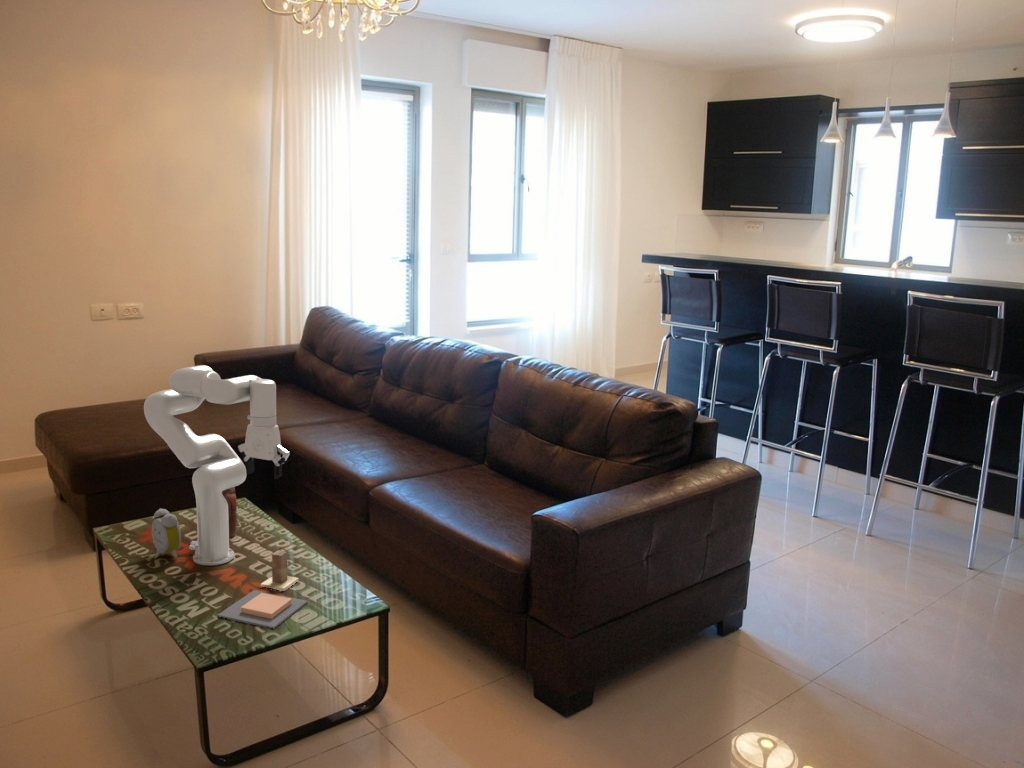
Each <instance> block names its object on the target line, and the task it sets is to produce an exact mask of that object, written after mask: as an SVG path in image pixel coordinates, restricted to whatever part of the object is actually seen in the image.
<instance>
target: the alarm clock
mask: <svg viewBox="0 0 1024 768" xmlns="http://www.w3.org/2000/svg"><path fill="white" fill-rule="evenodd" d="M151 537H152V541H153V544H154V547H155V549H156V553H155V555H154V558H153V559H155V560H156V559H157V558H158V557H159V556H160V555H161V554H169V553H171V554H172V556H173V558H174V559H175V560H178V559H179V558H178V553H177V551H179V549H180V548H181V545H182V532H181V528H180V525H179V522H178V518H177V516H176V515H175V514H173V513H170V511H168V510H167V509H166V508H161V507H160V508H159V509H158V510H156V511H155V512H154V514H153V521H152V522H151Z"/></svg>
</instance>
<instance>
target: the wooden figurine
mask: <svg viewBox="0 0 1024 768" xmlns="http://www.w3.org/2000/svg"><path fill="white" fill-rule="evenodd" d="M235 487H236V486H235ZM235 487H232V488H229V489H226V490H224V491H222V495H223V496H224V498H225V499H226V501H227V503H228V516H229V538H232V537H234V536H236V533H237V523H238V522H237V521H238V518H237V517H238V515H237V512H238V510H237V503H238V501H237V495H236V489H235Z"/></svg>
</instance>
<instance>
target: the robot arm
mask: <svg viewBox="0 0 1024 768" xmlns="http://www.w3.org/2000/svg"><path fill="white" fill-rule="evenodd" d="M168 384H169V387H170V389H164V390H160V391H157V392H153V393H152V394H150V395H149V396H147V398H146V399H145V401H144V404H143V413H144V417H145V419H146V422H147V423H148V425H149V426H150V428H151V429H152V430H153V431H154V432H155V433H156V434H158V436H160V438H161V439H163V441H164V442H165V443H166V444H167V446H168V447H169V449H170V450H171V451H172V453H173V454H174V455H175V456H176V457H177V459H178V460H179V462H181V464H182V465H183V466H184V467H185V468H188V469H196V470H195V471H194V472H193V474H192V478H191V479H192V481H191V483H192V487H193V491H194V495H195V503H196V530H197V531H196V532H197V535H196V536H197V541H195V540H191V542H190V543H189V544H190V545H189V546H188V549H189V550H192V551H195V552H194V554H193V556H192V560H193V562H194V563H195V564H198V565H200V566H219V565H223V564H225V563H229V562H231V561H232V560H233V559H234V558H235V551H234V550H232V549H231V548H230V537H229V516H228V503H227V501H226V499H225V498H224V496H223V495H222V491H224V490H226V489H229V488H232V487H237V486H240V485H241V484H243V483H244V482H245V481H246V478H247V475H250V474H253V473H254V472H255V459H259V460H265V461H272V462H273V463H274V466H273V479H274V480H277V479H279V478H281V477H282V476H283V464H285V462H287V461H288V458H289V456H290V454H291V453H290V451H288V450H287V449H286V448H284V447H283V446H282V443H281V442H282V441H281V433H280V428H279V425H278V424H277V384H276V382H275V380H272V379H268V378H261V377H259V376H257V375H254V374H248V375H242V376H237V377H231V378H225V379H222V378H221V376H220V374H219V373H218V372H216V371H214V370H213V369H212V368H211V367H210V366H208V365H205V364H200V365H194V366H193V365H192V366H188V367H182V368H178V369H177V370H175V371H173V372H172V373H171V375H170V377H169V381H168ZM204 401H207V402H208V403H212V404H216V405H217V404H218V405H234V404H237V403H242V402H248V401H249V414H248V415H247V420H249V424H248V425H247V427H246V433H245V439H244V440H245V442H244V443H241V444H239V445H238V446H237V448H238V451H239V452H240V455H241V456H242V458H243V460H242V459H241V457H239V456H238V454H237V453H236V452H235V450H234V449H233V448H232V447H231V445H230V444H229V443H228V442H227V440H226V439H225V438H224V437H222V436H221V435H220V434H217V433H208V434H205V435H197V434H196V433H195V432H194V431H193V430H192V429H191V427H190V426H189V425H188V424H187V423H186V422H184V421H183V420H180V419H178V418H177V417H175V416H177V415H181V414H185V413H191V412H193V411H194V410H196V409H198V407H200V406H201V404H202V403H203V402H204ZM281 455H282V457H281ZM244 462H245V464H244Z"/></svg>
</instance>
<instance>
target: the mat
mask: <svg viewBox="0 0 1024 768" xmlns="http://www.w3.org/2000/svg"><path fill="white" fill-rule="evenodd" d="M261 593H266V594H271V595H276V596H280V597H285V598H290V599H292V604H291V605H289V606H288V607H287V608H285V609H284V610H283V611H282V612H280V613H279V614H278V615H276V616H275V617H274V618H272V619H270V618H265V617H260V616H256V615H251V614H246V613H242V612H241V607H242V606H243V605H245V604H246V603H248V602H249V601H251V600H252V599H253V598H255V597H256V596H258V595H259V594H261ZM308 601H309V600H305V599H301V598H294V597H290V596H287V595H281V594H275V593H271V592H267V591H261V590H256V589H254V590H252V591H251V592H249V593H247V594H246V595H245V596H243V597H242V598H241V599H239V600H237V601H235V602H234V603H233V604H232V605H230V606H228V607H227V608H225V609H224V610H223V611H221V612H219V613H218V614H217V617H218V616H219V617H218V618H221V617H223V618H222V619H225V618H227V619H226V620H231V621H236V622H238V623H239V622H240V623H243V624H248V625H253V626H257V627H262V626H263V627H262V628H266V627H269V628H268V629H271V628H273V629H272V630H275V629H276V628H277V627H279V626H280V625H281V624H282V623H284V622H285V621H286V620H287V619H289V618H290V617H291V616H292V615H294V614H295V613H297V612H298V611H299V610H300V609H302V608H303V607H305V605H307V604H308ZM283 621H284V622H283ZM278 625H279V626H278ZM275 627H276V628H275Z"/></svg>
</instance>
